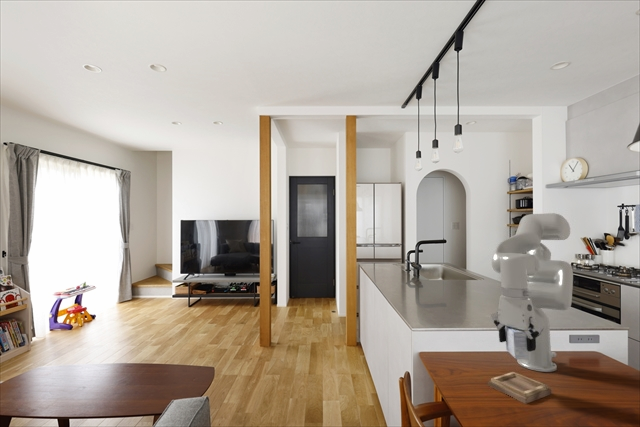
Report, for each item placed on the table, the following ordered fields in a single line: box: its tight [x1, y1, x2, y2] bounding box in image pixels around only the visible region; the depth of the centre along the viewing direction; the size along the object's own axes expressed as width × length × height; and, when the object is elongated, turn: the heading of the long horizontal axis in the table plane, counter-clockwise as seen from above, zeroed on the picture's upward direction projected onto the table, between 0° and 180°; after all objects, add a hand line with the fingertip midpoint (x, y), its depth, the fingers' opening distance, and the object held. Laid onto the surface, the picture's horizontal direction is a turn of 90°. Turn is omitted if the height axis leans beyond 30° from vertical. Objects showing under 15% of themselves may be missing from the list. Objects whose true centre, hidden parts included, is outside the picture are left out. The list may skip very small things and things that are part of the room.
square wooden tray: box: [487, 371, 552, 404], centre depth 107 cm, size 13×12×2 cm
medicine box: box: [505, 326, 530, 360], centre depth 107 cm, size 8×4×9 cm, turn 168°
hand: (516, 345), depth 107 cm, fingers closed on medicine box, 9 cm apart
